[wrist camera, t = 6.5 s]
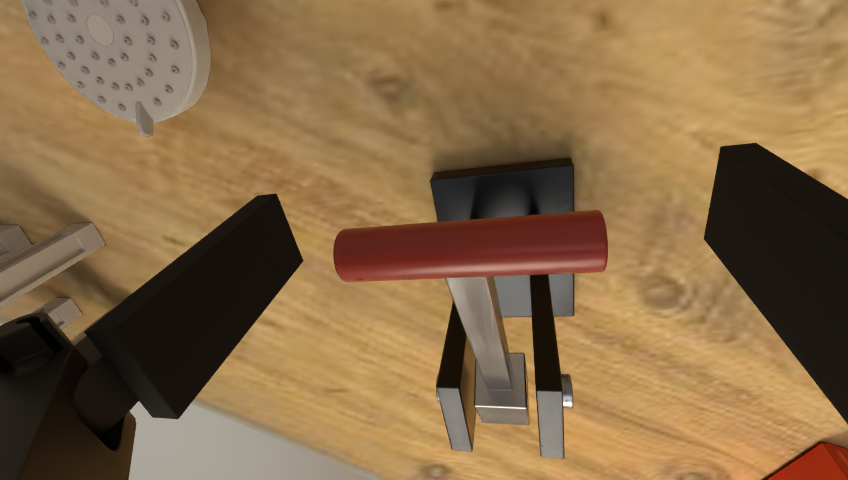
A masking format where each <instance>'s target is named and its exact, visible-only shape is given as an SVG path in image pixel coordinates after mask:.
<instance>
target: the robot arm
mask: <svg viewBox="0 0 848 480" xmlns="http://www.w3.org/2000/svg"><path fill="white" fill-rule="evenodd" d="M704 240H705V241H706V242H707V243H708V245H709V246H710V247H711V249H712V250H713V251H714V253H715V254H716V255H717V256H718V258H719V259H720V260H721V262H722V263H723V264H724V265H725V267H726V268H727V269H728V271H729V272H730V273H731V274H732V276H733V277H734V278H735V280H736V281H737V282H738V283H739V285H740V286H741V287H742V289H743V290H744V291H745V292H746V294H747V295H748V296H749V298H750V299H751V300H752V301H753V303H754V304H755V305H756V307H757V308H758V309H759V310H760V312H761V313H762V314H763V316H764V317H765V318H766V319H767V321H768V322H769V323H770V325H771V326H772V327H773V328H774V330H775V331H776V332H777V334H778V335H779V336H780V337H781V339H782V340H783V341H784V343H785V344H786V345H787V346H788V348H789V349H790V350H791V352H792V353H793V354H794V355H795V357H796V358H797V359H798V361H799V362H800V363H801V364H802V366H803V367H804V368H805V370H806V371H807V372H808V373H809V375H810V376H811V377H812V379H813V380H814V381H815V382H816V384H817V385H818V386H819V388H820V389H821V390H822V391H823V393H824V394H825V395H826V397H827V398H828V399H829V401H830V402H831V403H832V404H833V406H834V407H835V408H836V410H837V411H838V412H839V413H840V415H841V416H842V417H843V419H844V420H845V421H846V422H847V424H848V199H846V198H845V197H843V196H842V195H840V194H838V193H837V192H835V191H833V190H832V189H830V188H829V187H827V186H825V185H824V184H822V183H820V182H819V181H817V180H815V179H814V178H812V177H811V176H809V175H807V174H806V173H804V172H802V171H801V170H799V169H798V168H796V167H794V166H793V165H791V164H789V163H788V162H786V161H785V160H783V159H781V158H780V157H778V156H776V155H775V154H773V153H772V152H770V151H768V150H767V149H765V148H763V147H762V146H760V145H758V144H757V143H750V144H741V145H731V146H722V147H721V148H720V153H719V159H718V164H717V170H716V175H715V180H714V186H713V191H712V197H711V202H710V208H709V213H708V219H707V224H706V230H705V235H704ZM302 262H303V259H302V256H301V254H300V251H299V249H298V246H297V244H296V241H295V239H294V236H293V234H292V231H291V229H290V226H289V224H288V221H287V219H286V216H285V214H284V211H283V209H282V206H281V204H280V201H279V199H278V196H277V194H269V195H259V196H256V197H255V198H254V199H252V200H251V201H250V202H249V203H247V204H246V205H245V206H243V207H242V208H241V209H240V210H238V211H237V212H236V213H235V214H233V215H232V216H231V217H229V218H228V219H227V220H226V221H224V222H223V223H222V224H221V225H219V226H218V227H217V228H215V229H214V230H213V231H212V232H210V233H209V234H208V235H206V236H205V237H204V238H203V239H201V240H200V241H199V242H198V243H196V244H195V245H194V246H192V247H191V248H190V249H189V250H187V251H186V252H185V253H184V254H182V255H181V256H180V257H178V258H177V259H176V260H175V261H173V262H172V263H171V264H169V265H168V266H167V267H166V268H164V269H163V270H162V271H161V272H159V273H158V274H157V275H155V276H154V277H153V278H152V279H150V280H149V281H148V282H147V283H145V284H144V285H143V286H141V287H140V288H139V289H138V290H136V291H135V292H134V293H133V294H131V295H130V296H129V297H127V298H126V299H125V300H124V301H122V302H121V303H120V304H118V305H117V306H116V307H115V308H113V309H112V310H111V311H110V312H108V313H107V314H106V315H104V316H103V317H102V318H101V319H99V320H98V321H97V322H96V323H94V324H93V325H92V326H90V327H89V328H88V329H87V330H85V331H84V333H85V334H86V335H87V336H85V337H84V338H83V339H82V340H80V341H79V342H78V343H77V344H75V345H73V344H72V342H71V341H70V340H69V339H68V338H67V336H66V335H65V334H64V333H63V332H62V330H61V329H60V328H59V327H58V326H57V324H56V323H55V322H54V321H53V320H52V319H51V317H50V316H49V315H48V314H46V313H44V312H39V313H32V314H29V315H25V316H22V317H19V318H17V319H14V320H12V321H10V322H7V323H5V324H3V325H1V326H0V480H128V478H129V472H130V464H131V457H132V451H133V444H134V437H135V430H136V421H135V418H134V416H133V415H132V414H131V413H130V410H131V409H132V408H133V406H134V405H135V404H136V403H137V402H138V401H140V402H141V403H142V405H143V406H144V407H145V409H146V410H147V411H148V412H149V414H150V415H151V416H152V417H155V418H170V419H178V418H179V417H180V416H181V415H182V414H183V412H184V411H185V410H186V409H187V407H188V406H189V405H190V404H191V402H192V401H193V400H194V399H195V397H196V396H197V395H198V394H199V392H200V391H201V390H202V388H203V387H204V386H205V385H206V383H207V382H208V381H209V380H210V378H211V377H212V376H213V375H214V373H215V372H216V371H217V369H218V368H219V367H220V366H221V364H222V363H223V362H224V361H225V359H226V358H227V357H228V356H229V354H230V353H231V352H232V350H233V349H234V348H235V347H236V345H237V344H238V343H239V342H240V340H241V339H242V338H243V337H244V335H245V334H246V333H247V332H248V330H249V329H250V328H251V326H252V325H253V324H254V323H255V321H256V320H257V319H258V318H259V316H260V315H261V314H262V313H263V311H264V310H265V309H266V307H267V306H268V305H269V304H270V302H271V301H272V300H273V299H274V297H275V296H276V295H277V294H278V292H279V291H280V290H281V289H282V287H283V286H284V285H285V283H286V282H287V281H288V280H289V278H290V277H291V276H292V275H293V273H294V272H295V271H296V270H297V268H298V267H299V266H300V264H301V263H302Z"/></svg>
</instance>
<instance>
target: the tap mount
mask: <svg viewBox="0 0 848 480" xmlns="http://www.w3.org/2000/svg"><path fill="white" fill-rule="evenodd" d="M430 183H431V188H432V193H433V199H434V204H435V209H436V214H437V220H438V222H446V221H459V220H472V219H485V218H499V217H512V216H525V215H538V214H551V213H564V212H574V165H573V162H572V159H571V158H564V159H555V160H546V161H536V162H527V163H518V164H509V165H500V166H490V167H481V168H472V169H463V170H454V171H444V172H435V173H433V175H432V177H431V180H430ZM494 280H495V285H496V290H497V295H498V300H499V305H500V310H501V315H502V317H532V330H533V348H534V366H535V384H536V399H537V413H538V427H539V441H540V455H541V457H550V458H564V417H563V408H573V390H572V382H571V376H570V375H569V374H561V371H560V363H559V355H558V347H557V339H556V331H555V323H554V316H574V273H569V274H543V275H517V276H494ZM452 298H453V297H452ZM474 385H475V356H474V353H473V350H472V348H471V345H470V342H469V340H468V337H467V334H466V332H465V329H464V327H463V324H462V321H461V319H460V316H459V313H458V311H457V308H456V305H455V303H454V300H453V304H452V309H451V314H450V319H449V324H448V329H447V334H446V339H445V344H444V349H443V354H442V359H441V364H440V369H439V373H438V376H437V381H436V394H437V399H438V402H440V405H441V408H442V412H443V416H444V420H445V424H446V428H447V432H448V436H449V440H450V444H451V448H452V450H458V451H472V450H473V442H474V431H475V420H476V409H475V407H474Z"/></svg>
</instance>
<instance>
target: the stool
mask: <svg viewBox="0 0 848 480" xmlns="http://www.w3.org/2000/svg"><path fill="white" fill-rule="evenodd" d="M104 245H106V244H105V242H104V241H103V239H102V237H101V236H100V234H99V232H98V231H97V229H96V228H95V226H94V224H93V223H74V224H72V225H70V226H68V227H66V228H64V229H62V230H60V231H58V232H56V233H54V234H53V235H51V236H49V237H47V238H45V239H43V240H41V241H39V242H37V243H35V244H33V245H32V244H31V242H30V241H29V240H28V238H27V237H26V235H25V234H24V233H23V231H22V230H21V228H20V227H19V226H18V225H0V309H1V308H3V307H4V306H6V305H8V304H9V303H11V302H13V301H14V300H16V299H17V298H19V297H21V296H22V295H24V294H26V293H27V292H29V291H31V290H32V289H34V288H35V287H37V286H39V285H40V284H42V283H44V282H45V281H47V280H49V279H50V278H52V277H53V276H55V275H57V274H58V273H60V272H62V271H63V270H65V269H66V268H68V267H70V266H71V265H73V264H75V263H76V262H78V261H80V260H81V259H83V258H84V257H86V256H88V255H89V254H91V253H93V252H94V251H96V250H97V249H99V248H101V247H102V246H104ZM122 301H124V300H122ZM122 301H121V302H122ZM121 302H119V303H118V304H120V303H121ZM118 304H117V305H118ZM117 305H116V306H117ZM116 306H114V307H113V308H115V307H116ZM113 308H112V309H113ZM112 309H110V310H109V311H108V312H110V311H111V310H112ZM39 312H44V313H46V314H48V315H49V316H50V317H51V319H52V320H53V321H54V322H55V323H56V324H57V326H58V327H59V328H60V329H61V330H62V329H64V328H65V327H67V326H68V325H69V324H71V323H72V322H73V321H75V320H76V319H77V318H79V317H80V316H81V315H83V314H82V313H81V312H80V310H79V309H78V307H77V306H76V305H75V303H74V302H73V300H72V299H71V298H54V299H53V300H51V301H50V302H48V303H47V304H45V305H44V306H42V307H41V308H39V309H37V310H36V311H34V312H33V313H39ZM108 312H107V313H108ZM107 313H105V314H104V315H106V314H107ZM31 314H32V313H31ZM104 315H103V316H104ZM103 316H101V317H100V318H99V319H101V318H102V317H103ZM99 319H98V320H99ZM98 320H96V321H95V322H94V323H96V322H97V321H98ZM94 323H93V324H94ZM93 324H91V325H90V326H92V325H93ZM90 326H89V327H90ZM89 327H87V328H86V329H85V330H87V329H88V328H89ZM85 330H84V331H85ZM84 331H82V332H81V333H80V334H78V335H77V336H76V337H75V338H73V339H72V340H71V342H72V344H73V345H75V344H77V343H78V342H79V341H80V340H82V339H83V338H84V337H85V336H87V335H86V334H85V333H84Z"/></svg>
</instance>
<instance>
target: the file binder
mask: <svg viewBox="0 0 848 480" xmlns="http://www.w3.org/2000/svg"><path fill="white" fill-rule="evenodd" d="M768 480H848V449H845V448H841V447H838V446H835V445H832V444H829V443H824V444H823V443H821V444H820V445H818V446H817V447H816V448H814V449H813V450H811V451H810V452H808V453H807V454H805V455H804V456H802V457H801V458H799V459H798V460H796V461H795V462H793V463H792V464H790V465H789V466H787V467H786V468H784V469H783V470H781V471H780V472H778V473H777V474H775V475H774V476H772V477H771V478H769V479H768Z"/></svg>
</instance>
